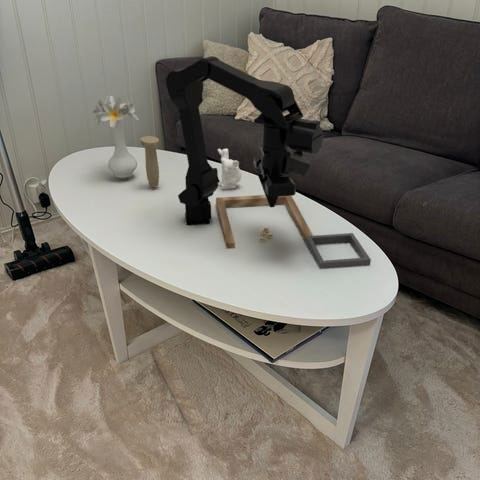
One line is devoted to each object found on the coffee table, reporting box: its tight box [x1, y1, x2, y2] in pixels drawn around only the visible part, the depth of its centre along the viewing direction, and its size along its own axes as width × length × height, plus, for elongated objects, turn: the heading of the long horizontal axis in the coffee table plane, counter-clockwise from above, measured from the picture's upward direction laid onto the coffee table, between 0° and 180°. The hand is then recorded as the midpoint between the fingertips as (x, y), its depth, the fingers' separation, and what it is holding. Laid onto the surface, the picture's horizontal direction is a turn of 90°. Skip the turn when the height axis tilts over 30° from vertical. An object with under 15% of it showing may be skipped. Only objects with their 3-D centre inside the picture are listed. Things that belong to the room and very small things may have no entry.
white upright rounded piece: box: [217, 148, 242, 190], centre depth 144 cm, size 8×7×12 cm
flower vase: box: [92, 95, 140, 179], centre depth 148 cm, size 13×18×25 cm
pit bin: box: [305, 232, 372, 269], centre depth 113 cm, size 12×12×3 cm
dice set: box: [258, 227, 274, 243], centre depth 121 cm, size 5×5×2 cm
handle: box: [140, 135, 160, 188], centre depth 144 cm, size 5×6×15 cm
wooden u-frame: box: [215, 194, 314, 249], centre depth 127 cm, size 22×25×2 cm
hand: (271, 206), depth 113 cm, fingers closed
